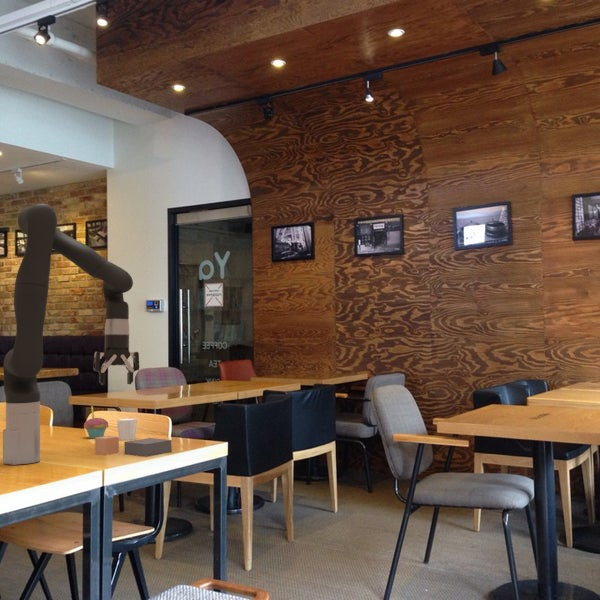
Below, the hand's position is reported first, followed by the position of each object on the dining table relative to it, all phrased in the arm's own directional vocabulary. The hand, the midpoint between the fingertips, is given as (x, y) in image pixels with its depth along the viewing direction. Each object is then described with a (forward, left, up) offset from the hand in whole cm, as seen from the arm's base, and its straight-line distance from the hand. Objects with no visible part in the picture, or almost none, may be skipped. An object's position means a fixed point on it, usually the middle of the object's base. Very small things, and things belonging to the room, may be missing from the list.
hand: (116, 384), depth 220 cm
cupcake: (+14, +31, -21) cm, 40 cm away
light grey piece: (+17, +17, -21) cm, 32 cm away
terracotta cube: (-6, -3, -21) cm, 22 cm away
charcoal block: (+1, -14, -21) cm, 25 cm away
